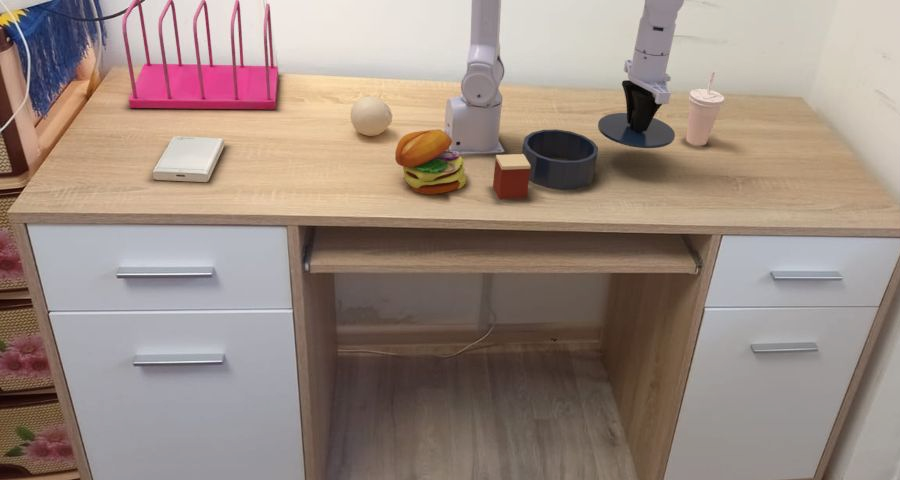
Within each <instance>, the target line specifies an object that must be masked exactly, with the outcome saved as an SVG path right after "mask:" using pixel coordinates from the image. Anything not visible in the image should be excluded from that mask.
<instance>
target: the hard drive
mask: <svg viewBox="0 0 900 480" xmlns="http://www.w3.org/2000/svg"><path fill="white" fill-rule="evenodd" d="M224 148H225V140H224V139H223V138H220V137H202V136H180V135H179V136H178V135H174V136H173V137H172V138H171V140H170V142H169V144H168V146H167V147H166V148H165V150H164V152H163V153H162V155H161V156H160V159H159V160H158V162H157V163H156V165H155V167H154V169H153V171H152V178H153V180H156V181H171V182H172V181H173V182H175V181H176V182H194V183H207V182H209V180H210V178H211V176H212V174H213V171H214V170H215V167H216V165H217V163H218V161H219V158H220V156H221V154H222V153H223V149H224Z"/></svg>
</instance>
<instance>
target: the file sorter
mask: <svg viewBox="0 0 900 480" xmlns="http://www.w3.org/2000/svg"><path fill="white" fill-rule="evenodd" d="M136 5H137V7H138V13H139V20H140V27H141V32H142V41H143V47H144V52H145V59H146V63H144V64H143V65H142V68H141V69H140V72H139V74H138V77H137V78H136V80H135V73H134V68H133V62H132V57H131V51H130V44H129V39H128V38H129V37H128V33H127V32H128V31H127V21H128V17H129V16H130V14H131V13H132V11H133V10H134V8H135V6H136ZM170 7H171V14H172V22H173V29H174V37H175V45H176V53H177V61H178V63H167V57H166V51H165V50H166V49H165V44H164V43H165V42H164V36H163V35H164V34H163V20H164V18H165V17H166V14H167V12H168V11H169V8H170ZM202 9H203V11H204V20H205V21H204V22H205V30H206V31H205V32H206V41H207V49H208V50H207V51H208V59H209V64H202V63H201V54H200V45H199V39H198V38H199V37H198V29H197V28H198V25H197V24H198V18H199V16H200V14H201V11H202ZM208 10H209V9H208V3H207V1H206V0H201V1H200V2H199V5H198V7H197V8H196V11H195V13H194V15H193V20H192V30H193V31H192V32H193V40H194V49H195V57H196V64H195V63H194V64H192V63H191V64H190V63H182V53H181V46H180V37H179V28H178V21H177V14H176V6H175V3H174V0H167V2H166V3H165V6H164V7H163V10H162V11H161V12H160V15H159V18H158V24H157V25H158V26H157V27H158V38H159V39H158V40H159V47H160V53H161V60H162V63H151V58H150V51H149V44H148V39H147V37H148V36H147V32H146V31H147V30H146V24H145V19H144V11H143V6H142V2H141V0H132V2H131V3H130V5H129V6H128V8H127V9H126V11H125V12H124V13H123V16H122V22H121V23H122V28H121V29H122V37H123V43H124V48H125V54H126V60H127V66H128V73H129V78H130V83H131V93H130V96H129V98H128V104H129V108H131V109H196V110H197V109H198V110H199V109H200V110H203V109H204V110H215V109H216V110H275V109H276V107H277V93H278V83H279V82H278V81H279V67H278V66H277V65H274V51H273V50H274V49H273V34H272V33H273V32H272V19H271V18H272V17H271V6H270V3H265V10H264V17H263V49H264V65H244V64H245V63H244V53H243V52H244V49H243V48H244V47H243V32H242V17H241V16H242V15H241V5H240V1H239V0H235V2H234V5H233V10H232V13H231V19H230V45H231V60H232V64H214V62H213V61H214V60H213V51H212V39H211V30H210V29H211V28H210V20H209V11H208ZM236 17H237V28H238V30H237V31H238V46H239V62H240V64H238V65H237V60H236V59H237V58H236V45H235V22H236V21H235V20H236ZM268 44H269V45H268ZM268 46H269V48H268ZM269 60H270V61H269ZM269 62H270V65H269Z"/></svg>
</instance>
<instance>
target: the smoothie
mask: <svg viewBox="0 0 900 480" xmlns="http://www.w3.org/2000/svg"><path fill="white" fill-rule="evenodd" d="M715 73H716V71H714V70H713V71H711V74H710V78H709V81H708V84H707V85H708V86H707V88H695V89H692V90H690V92H689V95H688V100H689V106H688V117H687V126H686V135H685V136H686V137H685V141H686V142H687V143H689V144H690V145H693V146H705V145H706V144H707V143H708V140H709V138H710V135H711V132H712V129H713V127H714V124H715V122H716V120H717V117H718V114H719V112H720V109H721V107H722V106H724V104H725V96H724V95H723V94H721V93H720V92H717V91H716V90H712V86H713V81H714V77H715V75H716V74H715Z"/></svg>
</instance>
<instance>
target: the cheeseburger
mask: <svg viewBox="0 0 900 480" xmlns="http://www.w3.org/2000/svg"><path fill="white" fill-rule="evenodd" d="M451 144H452V140H451V138H450V137H449V136H448V135H447V134H446V133H445V132H444V131H443V130H442V129H439V128H438V129H429V130H421V131H420V130H418V131H414V132H409V133H406V134H404V135H403V136H402V137H401V138H400V139H399V141H398V142H397V144H396V148H395V152H394V153H395V154H394V156H395V157H394V160H395V162H396V163H397V165H399V166H401V167H402V170H403V177H404V180H405V182H407V184H408V186H409V187H410V188H411V189H412V190H414V191H416V192H417V193H421V194H427V195H435V194H442V193H443V194H444V193H448V192H451V191H454V190H460V189H462V188H463V187H464V185H465V184H466V182H467V174H466V173H465V168H464V164H465V162H464V159H463V158H462V156H460V154H458V153H456V152H453V151H450V150H449V147H450V145H451Z"/></svg>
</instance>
